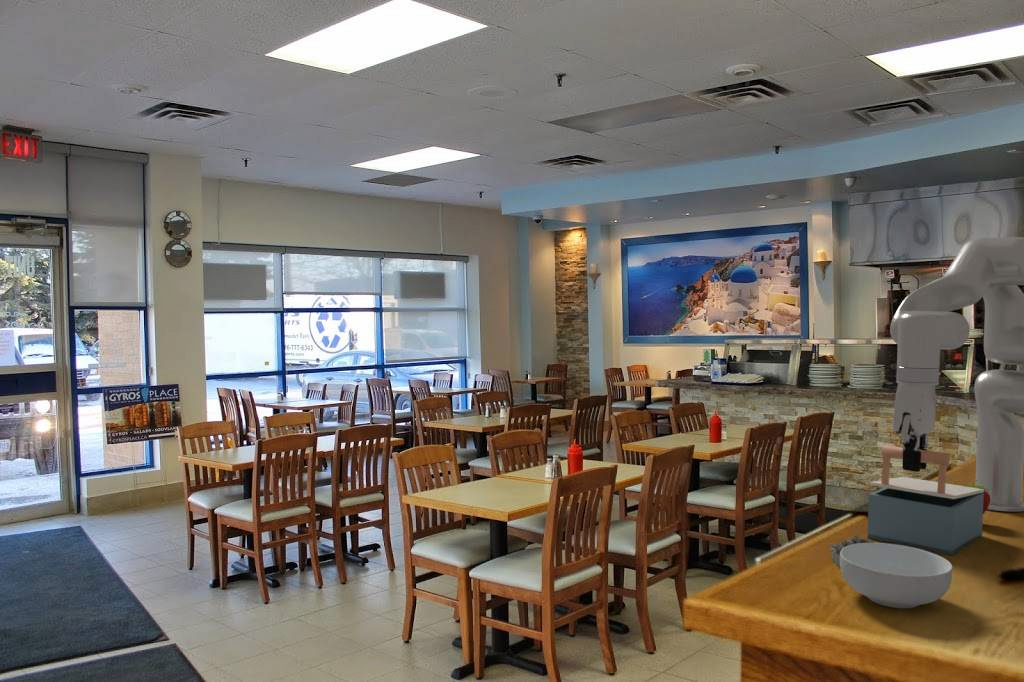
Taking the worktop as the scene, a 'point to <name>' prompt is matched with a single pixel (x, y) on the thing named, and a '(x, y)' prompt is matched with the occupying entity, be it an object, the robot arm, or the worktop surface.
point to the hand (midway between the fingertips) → (914, 468)
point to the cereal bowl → (895, 573)
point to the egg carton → (837, 548)
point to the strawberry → (985, 498)
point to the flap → (917, 484)
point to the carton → (925, 520)
